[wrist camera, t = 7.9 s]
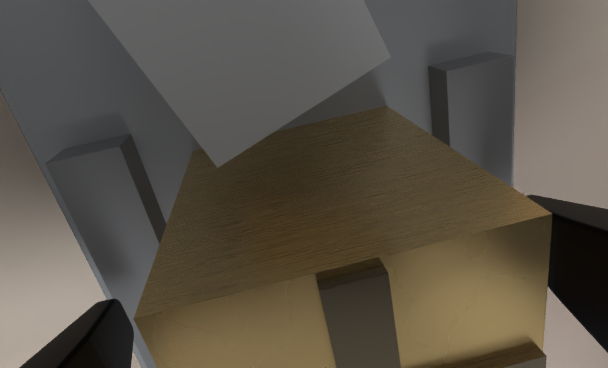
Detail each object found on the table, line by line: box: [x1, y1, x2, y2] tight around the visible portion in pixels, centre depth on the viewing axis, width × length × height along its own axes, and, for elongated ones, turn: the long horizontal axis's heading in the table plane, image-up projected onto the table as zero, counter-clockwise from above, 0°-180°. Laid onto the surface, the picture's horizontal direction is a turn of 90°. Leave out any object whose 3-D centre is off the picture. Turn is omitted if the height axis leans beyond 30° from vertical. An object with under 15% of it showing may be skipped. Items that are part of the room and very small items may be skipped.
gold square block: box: [133, 106, 552, 368], centre depth 8 cm, size 5×5×6 cm
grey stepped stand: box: [0, 0, 517, 368], centre depth 10 cm, size 20×12×6 cm, turn 11°
